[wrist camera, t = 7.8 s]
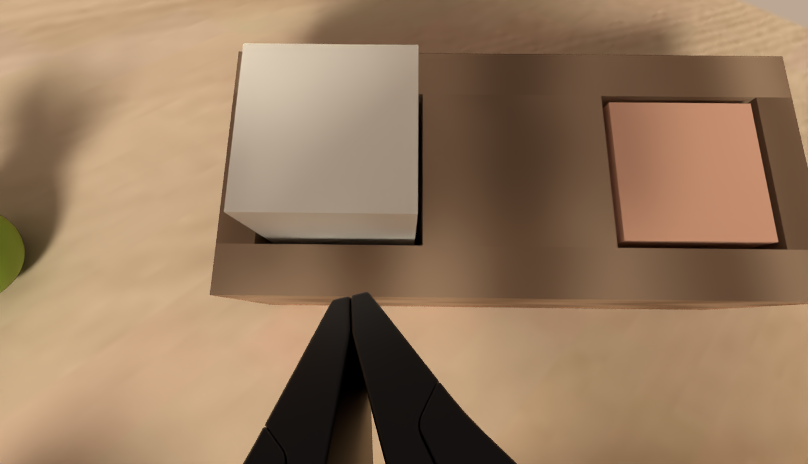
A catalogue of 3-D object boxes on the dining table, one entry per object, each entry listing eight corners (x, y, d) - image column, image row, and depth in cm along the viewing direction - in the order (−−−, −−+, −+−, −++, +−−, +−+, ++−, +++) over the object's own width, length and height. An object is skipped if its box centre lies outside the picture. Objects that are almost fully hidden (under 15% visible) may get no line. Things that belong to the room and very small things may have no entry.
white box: (413, 137, 21) (418, 44, 14) (413, 253, 19) (417, 214, 13) (296, 136, 21) (243, 43, 14) (287, 252, 19) (223, 211, 13)
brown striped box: (677, 131, 25) (782, 56, 18) (704, 309, 22) (838, 302, 15) (284, 127, 25) (238, 51, 18) (269, 304, 22) (209, 294, 15)
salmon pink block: (652, 166, 24) (750, 103, 17) (666, 267, 23) (778, 241, 16) (551, 165, 24) (609, 102, 17) (558, 266, 23) (624, 240, 16)
